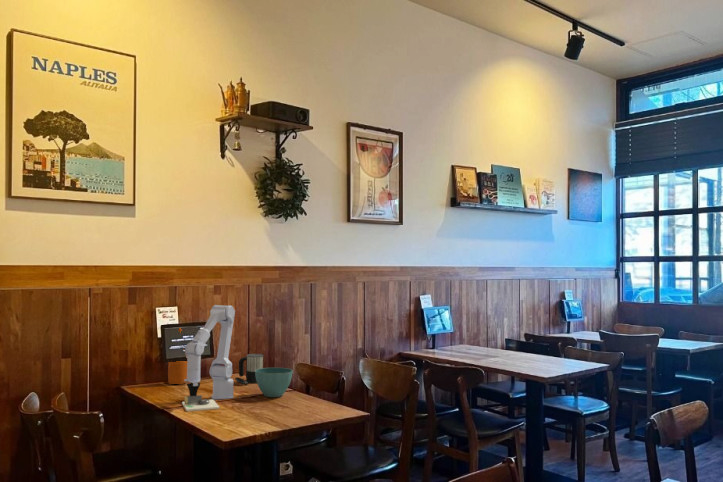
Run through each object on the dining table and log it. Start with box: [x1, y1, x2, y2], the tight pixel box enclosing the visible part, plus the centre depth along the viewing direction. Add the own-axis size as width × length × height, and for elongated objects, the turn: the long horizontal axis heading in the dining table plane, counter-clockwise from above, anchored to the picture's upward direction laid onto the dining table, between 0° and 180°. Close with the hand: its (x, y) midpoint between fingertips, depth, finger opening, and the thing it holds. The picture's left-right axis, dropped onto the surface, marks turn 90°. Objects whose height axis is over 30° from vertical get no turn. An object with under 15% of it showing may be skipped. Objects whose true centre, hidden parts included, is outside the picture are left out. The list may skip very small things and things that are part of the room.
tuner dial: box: [184, 394, 210, 404], centre depth 269 cm, size 11×5×3 cm, turn 111°
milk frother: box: [234, 353, 264, 386], centre depth 326 cm, size 14×16×15 cm
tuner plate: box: [181, 398, 220, 412], centre depth 269 cm, size 14×17×1 cm
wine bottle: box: [167, 327, 188, 385], centre depth 323 cm, size 10×10×30 cm
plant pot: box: [255, 367, 294, 398], centre depth 293 cm, size 18×18×12 cm
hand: (193, 399), depth 269 cm, fingers closed, pressing on tuner dial
